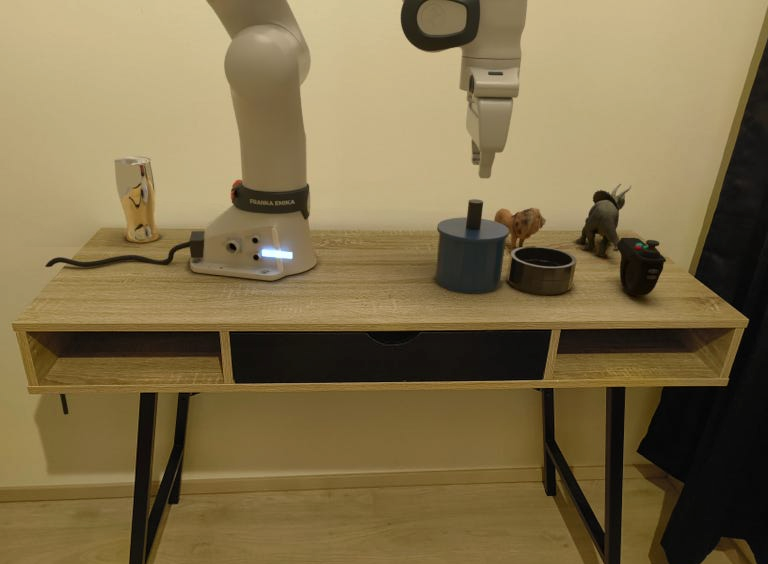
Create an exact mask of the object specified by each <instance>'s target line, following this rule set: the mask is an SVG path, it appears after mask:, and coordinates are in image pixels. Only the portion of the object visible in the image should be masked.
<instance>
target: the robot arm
mask: <svg viewBox="0 0 768 564" xmlns="http://www.w3.org/2000/svg"><path fill="white" fill-rule="evenodd" d="M401 1H402V5H401V10H400V26H401V31H402V32H403V34H404V37H405V38H406V39H407V41H408V43H410V45H412V46H413V47H415V48H416V49H417V50H420V51H422V52H425V53H431V54H434V53H441V52H444V51H448V50H450V49H455V48H459V49H460V50H461V58H460V59H461V61H460V71H459V72H460V73H459V86H458V89H459V90H460V91H464V92H466V102H467V108H466V118H465V128H466V131H467V133H468V134H469V136H470V137H471V138H470V139H471V140H470V143H471V144H470V145H471V158H470V161H471V163H472V165H474V166H478V171H477V175H478V177H479V178H480V179H490V178H491V176H492V169H493V165H494V162H495V158H496V153H498V154H500V153H503V152H504V149H505V148H506V144H507V142H508V136H509V131H510V125H511V119H512V114H513V109H514V108H513V107H514V99H516V98H518V97H519V92H520V73H521V64H522V63H521V62H522V49H521V48H522V47H521V39H522V35H523V32H524V29H525V26H526V21H527V12H528V11H527V10H528V0H401ZM205 2H206V3H207V4H208V5H209V6H210V8H211V9H212V10H213V12H214V14H215V15H216V16H217V18H218V20H219V21H220V23H221V25H222V26H223V28H224V29H225V31H226V33H227V34H228V36H229V38H230V40H231V42H230V43H229V45H228V47H227V50H226V52H225V55H224V62H223V68H224V69H223V70H224V75H225V78H226V80H227V83H228V85H229V90H230V91H229V92H230V97H231V102H232V107H233V113H234V116H235V121H236V125H237V130H238V137H239V146H240V147H239V149H240V150H239V151H240V166H241V168H240V169H241V179H236V180H235V181H234V183H233V184H232V187H231V190H230V201H231V203H232V205H230V206H229V207H228V208H227V209H226V210H224V211H223V212H222V213H220V215H218V216H217V217H215V218H214V219H213V220H212V221H211V222H210V223H208V225H207V226H206V228H205V230H194V231H193V230H192V231H191V233H190V237H189V240H188V241H187V242H183V243H179V244H176V245H174V246H173V247H172V248H171V249H170V250H169V251H168V254H167V258H165V259H161V260H158V259H153V258H149V257H147V256H142V255H137V254H126V255H117V256H112V257H108V258H104V259H99V260H92V261H79V260H75V259H72V258H67V257H60V256H59V257H53V258H52V259H50V260H49V261H47V263H46V264H45V265H44V267H45V268H51V267H53V266H54V265H56V264H59V263H62V264H67V265H70V266H74V267H80V268H90V267H91V268H93V267H98V266H100V267H101V266H104V265H108V264H109V265H110V264H113V263H118V262H124V261H138V262H143V263H147V264H153V265H162V266H164V265H168V264H171V262H173V260H174V256H175V253H176V252H178V251H180V250H183V249H187V248H189V250H190V251H189V252H190V258H189V259H190V260H189V267H190V269H191V271H192V272H194V273H199V274H208V275H217V276H225V277H233V278H242V279H251V280H261V281H268V282H269V281H270V282H271V281H276V280H279V279H282V278H284V277H286V276H291V275H296V274H300V273H304V272H306V271H308V270H311V269H312V268H313V267H315V266H316V265H317V263H318V259H317V257H316V254H315V250H314V246H313V242H312V235H311V231H310V230H311V229H310V221H309V219H310V218H309V217H310V216H311V215H310V214H311V191H310V184H309V183H308V175H307V174H308V173H307V172H308V170H307V167H308V166H307V163H308V162H307V161H308V160H307V134H306V132H305V124H304V123H305V122H304V118H303V117H304V116H303V108H302V95H301V86H302V85H303V84H304V82H305V81H306V80H307V77H308V75H309V74H310V70H311V63H312V62H311V52H310V48H309V45H308V43H307V41H306V38H305V37H304V34H303V32H302V29H301V27H300V25H299V23H298V21H297V19H296V16H295V15H294V12H293V10H292V8H291V6H290V4H289V2H288V0H205ZM59 397H60V402H61V407H62V412H63V413H62V414H64V415H65V416H66V415H68V414H70V413H69V407H68V402H67V401H68V400H67V397H66V393H65V394H60V393H59Z"/></svg>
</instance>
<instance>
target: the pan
mask: <svg viewBox="0 0 768 564" xmlns="http://www.w3.org/2000/svg"><path fill="white" fill-rule="evenodd" d="M577 260H578V259H577V258H576V257H575V256H574V255H573V254H572V253H569V252H568V251H565V250H562V249H558V248H554V247H550V246H549V247H548V246H541V245H540V246H538V245H530V246H523V247H520V248H518V247H516V249H514V250H512V252H510V254H509V262H508V268H507V275H506V276H507V277H506V278H507V281H508V283H509V284H510V285H511V286H512V287H513V288H514V289H516V290H519V291H521V292H525V293H528V294H532V295H539V296H555V295H557V296H558V295H562V294H564V293H566V292H568V291H569V290H570V289H572V287H573V283H574V277H575V271H576V267H577Z"/></svg>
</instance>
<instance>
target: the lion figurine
mask: <svg viewBox="0 0 768 564" xmlns="http://www.w3.org/2000/svg"><path fill="white" fill-rule="evenodd" d="M494 215H495V216H494V220H493V221H495V222H498V223H500V224H503V225H505V226H506V227H507V228H508V229H509V235H510V242H511V243H510V250H509V251H510V253H511V252H512V250H514V249H516V248H520V247H524V243H525V241H526V240H527V239H529V238H531V236H533V235H535V234H537V233H538V232H539V231H540V230H541V229H543V226H545V225H546V221H547V220H546V218H544V217H543V215H542V213H541V210H540V209H539V208H537V207H530V208H526V209H524V210H521V211H517V212H515V214H513V213H512V212H511V211H510V210H509V209H507V208H500V209H499V210H497V211H496V213H495V214H494ZM518 239H519V240H518ZM517 241H518V245H517Z"/></svg>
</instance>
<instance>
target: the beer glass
mask: <svg viewBox="0 0 768 564" xmlns="http://www.w3.org/2000/svg"><path fill="white" fill-rule="evenodd" d="M113 163H114V173H115V174H114V175H115V183H116V184H115V185H116V190H117V194H118V197H119V200H120V204H121V207H122V210H123V213H124V217H125V222H126V240H127V241H128V242H131V243H137V244H138V243H140V244H142V243H151V242H154V241H156V240H158V239H159V237H160V234H159V232H158V228H157V225H156V217H155V216H156V215H155V212H156V210H155V208H156V180H155V173H154V168H153V164H152V159H151V158H150V157H146V156H123V157H118V158H116V159H115V160H114V161H113Z"/></svg>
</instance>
